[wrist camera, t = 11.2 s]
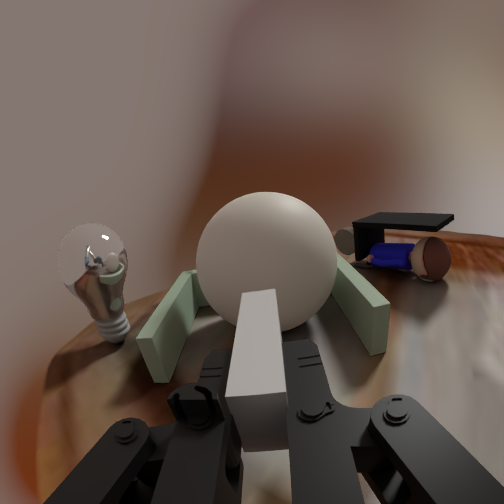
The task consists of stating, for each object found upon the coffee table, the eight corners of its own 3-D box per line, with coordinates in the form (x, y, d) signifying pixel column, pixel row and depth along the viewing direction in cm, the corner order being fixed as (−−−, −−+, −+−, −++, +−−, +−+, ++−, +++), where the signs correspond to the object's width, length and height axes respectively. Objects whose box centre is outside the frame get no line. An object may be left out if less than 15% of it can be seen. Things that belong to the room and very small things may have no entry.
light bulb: (90, 368, 19) (42, 237, 16) (89, 337, 25) (55, 231, 22) (158, 346, 23) (120, 214, 20) (143, 319, 29) (115, 214, 26)
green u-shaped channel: (386, 351, 17) (390, 303, 16) (154, 382, 18) (135, 338, 17) (335, 282, 31) (333, 249, 30) (190, 303, 31) (183, 271, 30)
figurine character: (336, 279, 35) (439, 293, 22) (327, 222, 34) (435, 216, 21) (366, 264, 39) (458, 272, 25) (358, 213, 37) (454, 207, 24)
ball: (386, 229, 18) (325, 232, 30) (242, 146, 16) (229, 183, 28) (318, 375, 18) (280, 328, 29) (161, 314, 16) (181, 285, 28)
